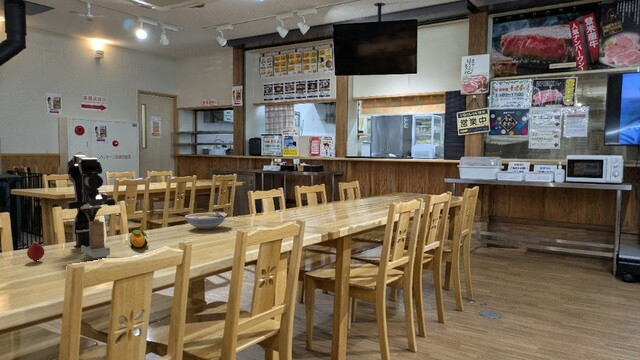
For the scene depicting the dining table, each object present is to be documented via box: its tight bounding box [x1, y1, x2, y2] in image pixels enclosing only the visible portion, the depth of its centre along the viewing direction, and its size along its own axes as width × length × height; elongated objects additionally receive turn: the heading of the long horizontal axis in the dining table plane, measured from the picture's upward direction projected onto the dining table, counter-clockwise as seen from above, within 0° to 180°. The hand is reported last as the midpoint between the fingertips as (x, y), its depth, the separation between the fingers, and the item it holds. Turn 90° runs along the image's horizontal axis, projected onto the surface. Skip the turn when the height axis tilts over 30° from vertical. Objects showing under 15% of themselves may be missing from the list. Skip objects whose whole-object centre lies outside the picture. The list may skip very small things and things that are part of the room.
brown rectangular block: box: [89, 218, 106, 249], centre depth 182 cm, size 5×4×12 cm
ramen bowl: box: [184, 211, 228, 230], centre depth 254 cm, size 25×23×8 cm
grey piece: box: [80, 246, 111, 261], centre depth 184 cm, size 14×8×5 cm, turn 46°
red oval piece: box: [26, 241, 45, 262], centre depth 180 cm, size 6×6×8 cm
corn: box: [129, 229, 148, 249], centre depth 206 cm, size 7×8×20 cm
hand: (91, 223), depth 196 cm, fingers closed
